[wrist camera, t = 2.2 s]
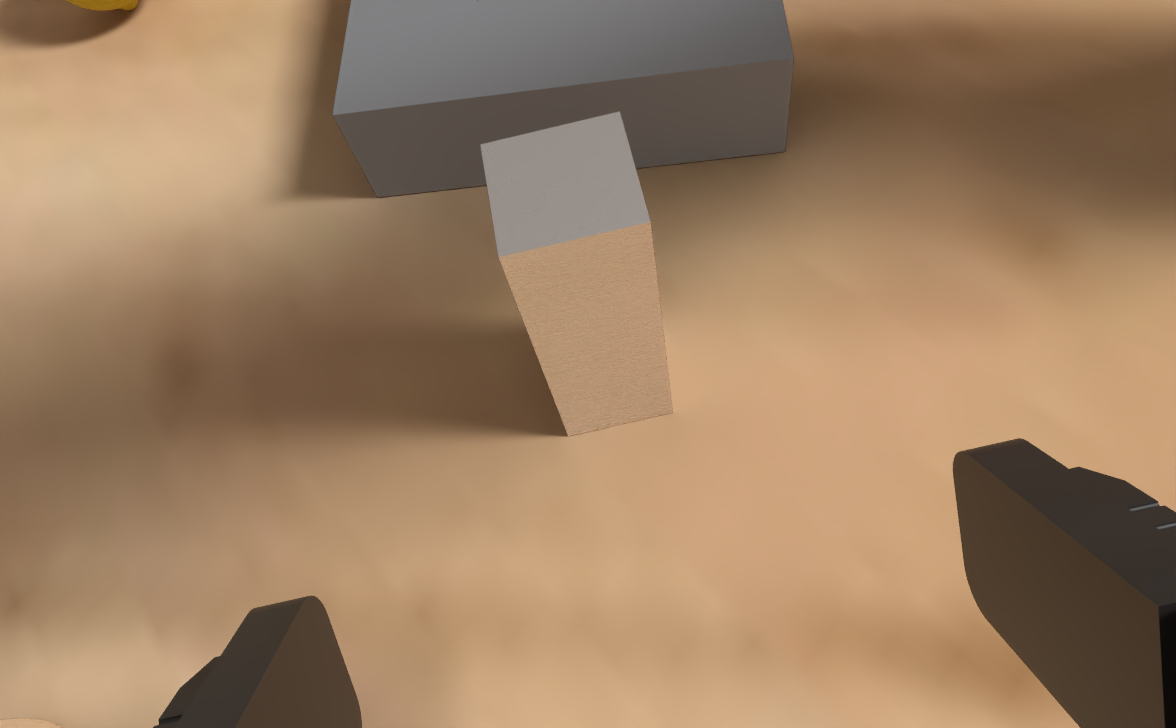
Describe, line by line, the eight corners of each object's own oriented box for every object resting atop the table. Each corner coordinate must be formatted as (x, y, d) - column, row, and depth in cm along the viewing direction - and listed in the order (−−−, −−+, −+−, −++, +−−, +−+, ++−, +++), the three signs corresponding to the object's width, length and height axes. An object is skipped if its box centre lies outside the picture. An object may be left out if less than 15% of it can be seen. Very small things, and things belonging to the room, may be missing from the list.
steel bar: (649, 323, 29) (619, 111, 21) (672, 412, 28) (650, 222, 19) (551, 346, 30) (480, 144, 21) (568, 436, 28) (498, 257, 19)
